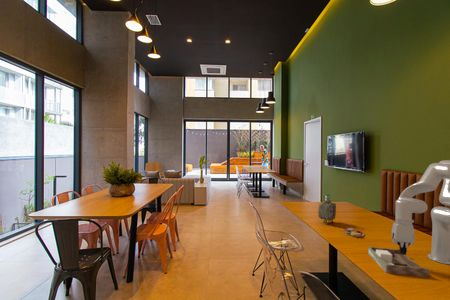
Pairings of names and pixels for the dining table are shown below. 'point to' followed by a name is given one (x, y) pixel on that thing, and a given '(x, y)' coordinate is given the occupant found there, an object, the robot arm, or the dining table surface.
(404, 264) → the box
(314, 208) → the dining table surface
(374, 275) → the dining table surface
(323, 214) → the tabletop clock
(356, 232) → the toy food set
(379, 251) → the cream block
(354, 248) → the dining table surface
